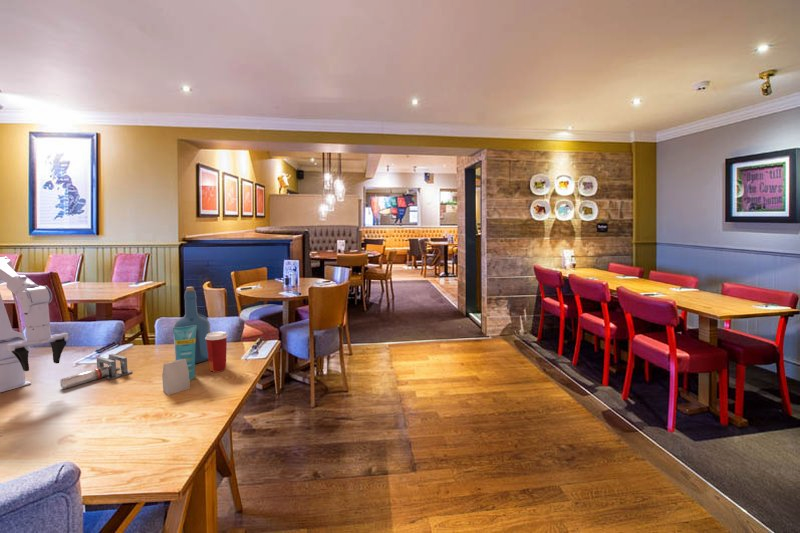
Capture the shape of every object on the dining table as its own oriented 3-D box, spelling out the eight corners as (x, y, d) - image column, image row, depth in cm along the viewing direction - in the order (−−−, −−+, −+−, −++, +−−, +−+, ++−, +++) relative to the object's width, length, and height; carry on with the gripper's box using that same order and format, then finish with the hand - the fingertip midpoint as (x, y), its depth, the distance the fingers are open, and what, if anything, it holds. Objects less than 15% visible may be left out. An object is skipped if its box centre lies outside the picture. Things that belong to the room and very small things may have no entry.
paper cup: (232, 366, 152) (231, 331, 150) (221, 373, 144) (220, 336, 143) (213, 365, 153) (212, 330, 151) (202, 372, 145) (200, 336, 144)
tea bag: (189, 388, 131) (188, 359, 130) (167, 395, 126) (166, 365, 125) (184, 385, 134) (183, 357, 133) (163, 392, 128) (161, 362, 127)
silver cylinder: (65, 390, 129) (65, 380, 129) (60, 387, 131) (59, 377, 130) (112, 376, 142) (112, 366, 141) (107, 373, 143) (106, 364, 143)
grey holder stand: (109, 380, 137) (108, 363, 137) (92, 374, 142) (91, 358, 142) (120, 376, 141) (119, 360, 140) (103, 371, 146) (102, 355, 145)
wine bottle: (196, 366, 151) (192, 290, 148) (167, 364, 154) (162, 289, 151) (219, 355, 165) (216, 285, 161) (191, 353, 167) (188, 283, 164)
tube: (176, 382, 136) (173, 329, 134) (175, 378, 140) (172, 326, 138) (199, 378, 140) (197, 326, 138) (198, 374, 144) (195, 323, 142)
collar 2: (121, 376, 141) (120, 359, 140) (105, 371, 146) (103, 355, 145) (132, 373, 144) (131, 356, 144) (115, 368, 149) (114, 352, 148)
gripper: (13, 332, 115) (17, 376, 116) (71, 321, 128) (75, 361, 129) (2, 329, 118) (6, 372, 119) (61, 319, 131) (64, 358, 132)
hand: (41, 366), depth 125 cm, fingers open, 7 cm apart
